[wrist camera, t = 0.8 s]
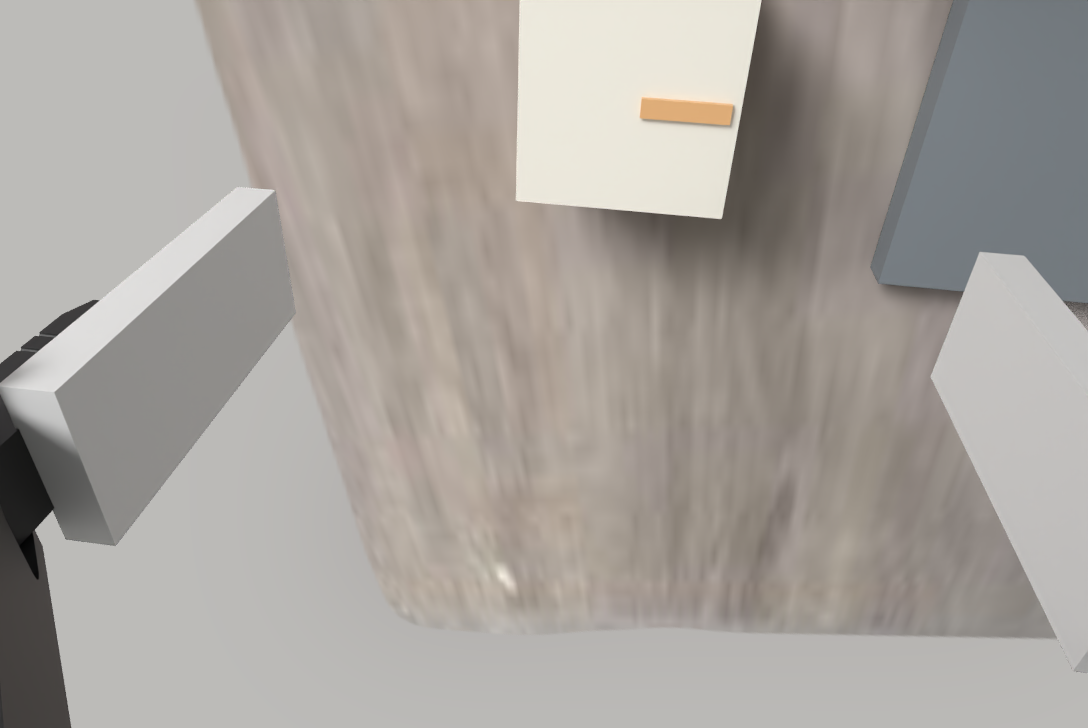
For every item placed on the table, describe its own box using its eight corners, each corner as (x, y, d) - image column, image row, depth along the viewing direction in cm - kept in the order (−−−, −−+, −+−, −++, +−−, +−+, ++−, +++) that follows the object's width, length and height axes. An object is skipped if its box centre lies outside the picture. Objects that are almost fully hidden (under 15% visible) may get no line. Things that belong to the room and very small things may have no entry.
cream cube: (548, -54, 28) (519, -24, 23) (744, -42, 28) (764, -8, 22) (541, 137, 32) (515, 203, 27) (712, 150, 32) (722, 221, 26)
